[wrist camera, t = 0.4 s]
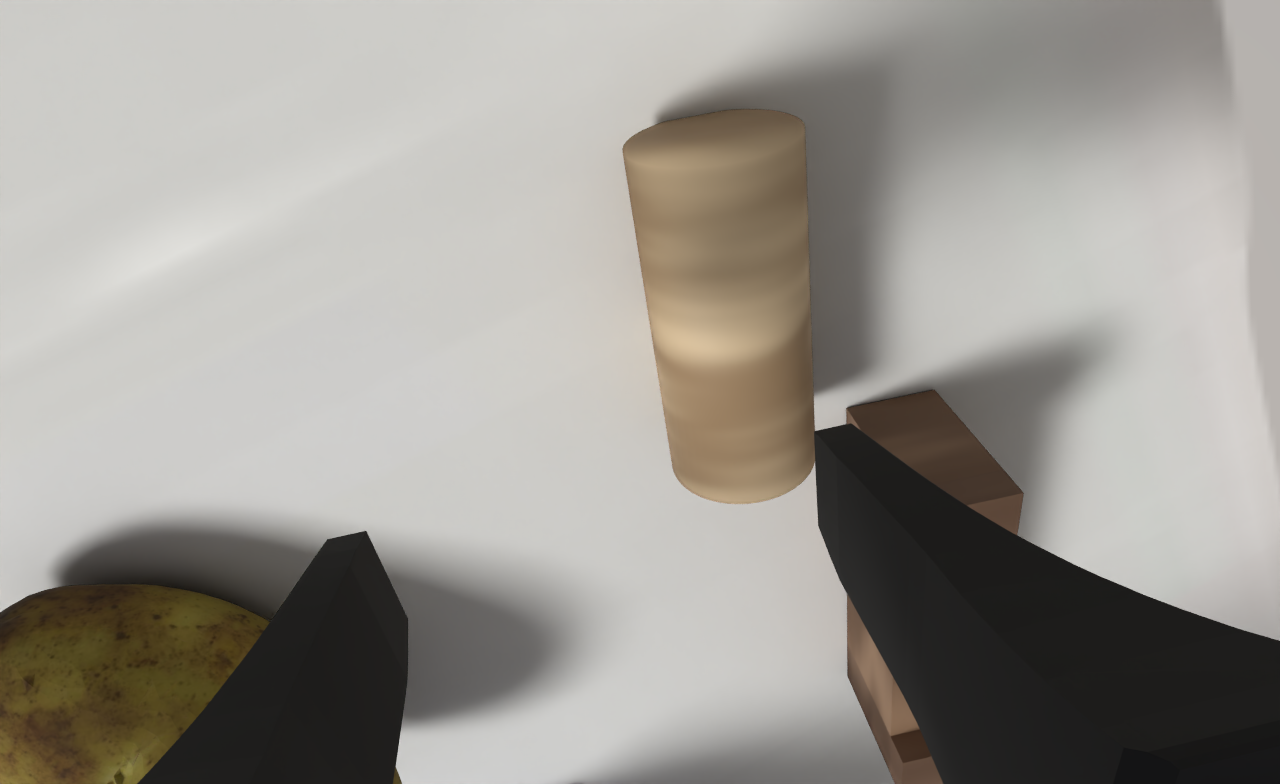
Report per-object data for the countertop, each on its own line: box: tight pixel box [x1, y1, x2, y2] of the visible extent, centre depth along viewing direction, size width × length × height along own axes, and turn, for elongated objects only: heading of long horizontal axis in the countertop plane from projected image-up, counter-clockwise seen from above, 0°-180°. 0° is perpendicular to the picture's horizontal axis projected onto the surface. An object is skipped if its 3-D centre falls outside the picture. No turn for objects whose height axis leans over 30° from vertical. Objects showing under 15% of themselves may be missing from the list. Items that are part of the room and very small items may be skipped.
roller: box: [623, 109, 815, 504], centre depth 20 cm, size 9×4×4 cm, turn 8°
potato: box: [0, 584, 402, 784], centre depth 23 cm, size 8×13×8 cm, turn 26°
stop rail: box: [846, 390, 1024, 784], centre depth 26 cm, size 13×3×5 cm, turn 8°
